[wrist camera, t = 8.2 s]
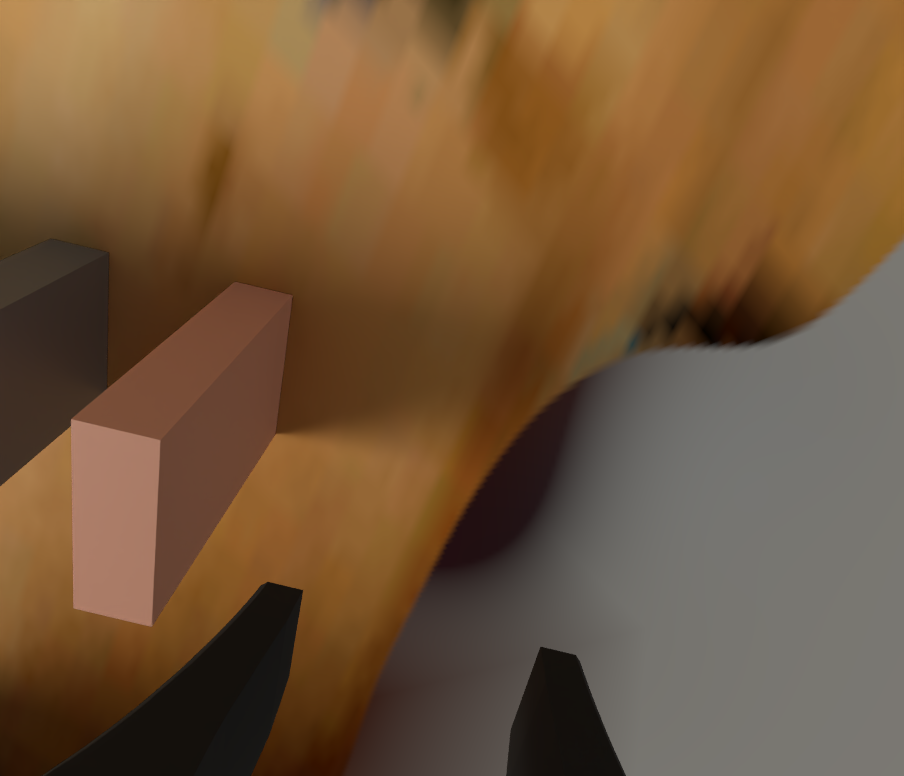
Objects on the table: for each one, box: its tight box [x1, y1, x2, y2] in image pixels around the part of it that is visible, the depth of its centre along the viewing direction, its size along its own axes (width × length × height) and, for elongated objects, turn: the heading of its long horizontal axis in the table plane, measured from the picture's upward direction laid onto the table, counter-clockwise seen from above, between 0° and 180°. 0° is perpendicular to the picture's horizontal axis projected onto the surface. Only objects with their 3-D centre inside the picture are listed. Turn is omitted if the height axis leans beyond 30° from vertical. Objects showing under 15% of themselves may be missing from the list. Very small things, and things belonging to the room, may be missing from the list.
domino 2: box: [71, 282, 293, 627], centre depth 18 cm, size 4×2×8 cm, turn 168°
